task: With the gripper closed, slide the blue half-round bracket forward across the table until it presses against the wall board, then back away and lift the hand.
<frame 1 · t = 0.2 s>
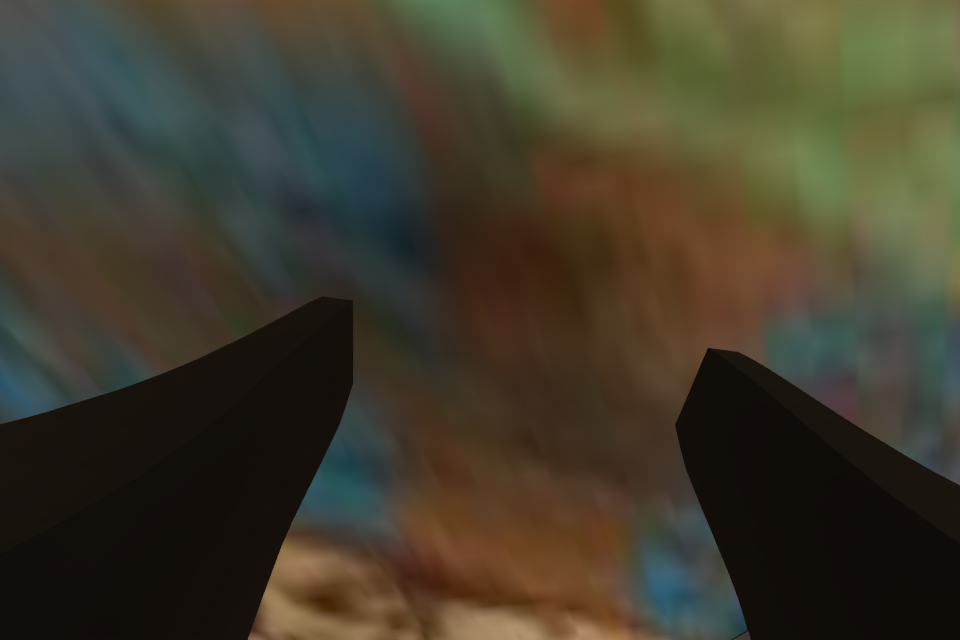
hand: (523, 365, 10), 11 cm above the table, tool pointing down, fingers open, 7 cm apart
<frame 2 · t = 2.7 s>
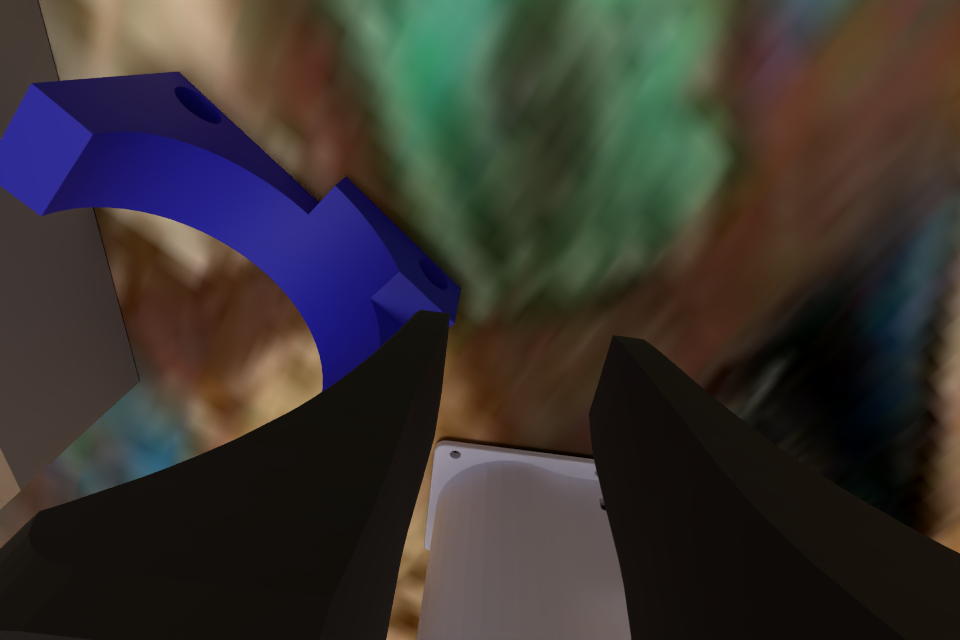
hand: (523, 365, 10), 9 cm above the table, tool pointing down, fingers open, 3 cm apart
blue half-round bracket: (311, 214, 19), on the table
wall board: (45, 156, 18), on the table
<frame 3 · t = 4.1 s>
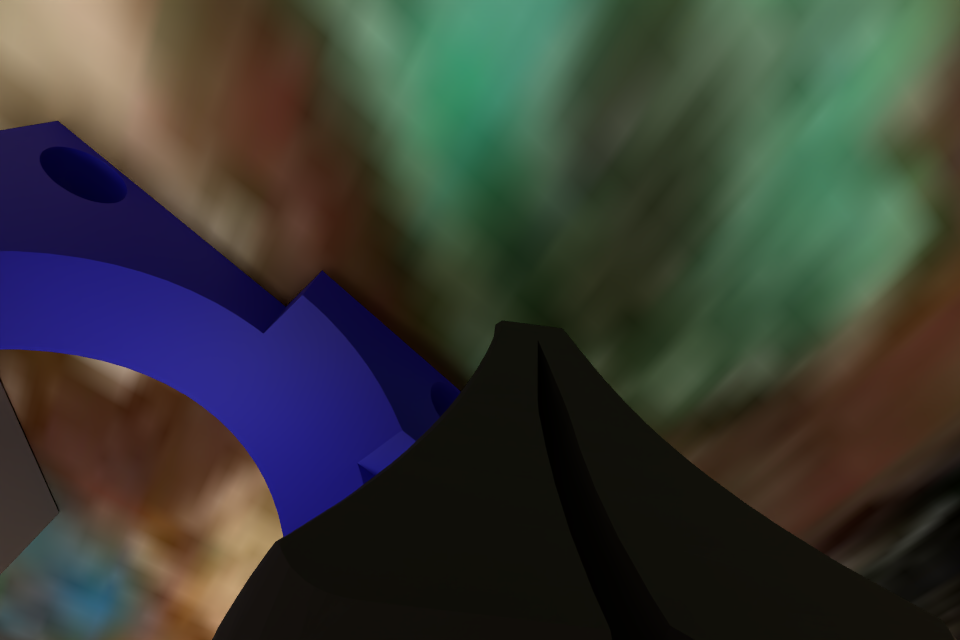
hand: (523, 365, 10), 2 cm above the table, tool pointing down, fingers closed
blue half-round bracket: (274, 317, 13), on the table
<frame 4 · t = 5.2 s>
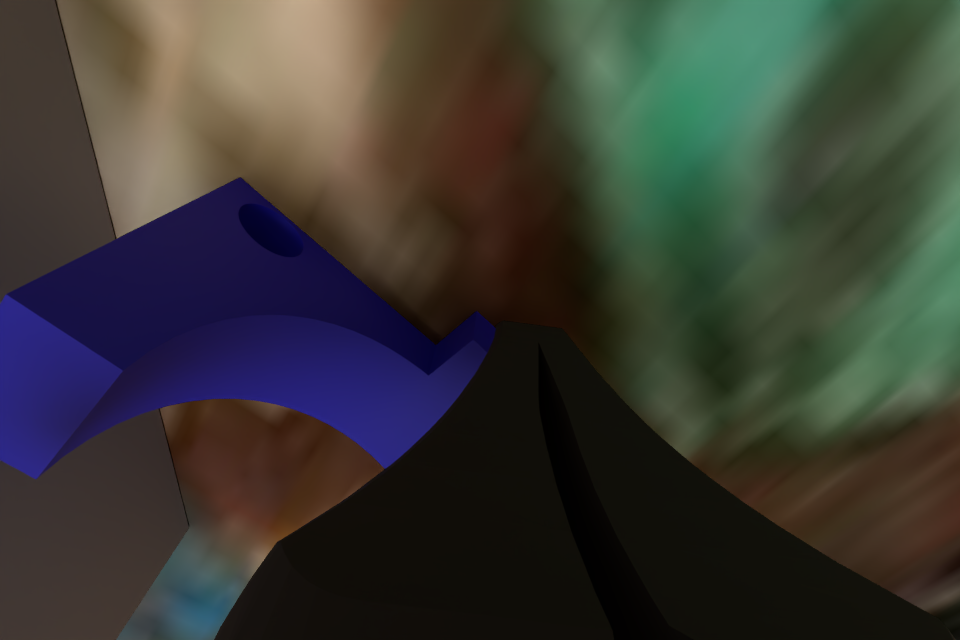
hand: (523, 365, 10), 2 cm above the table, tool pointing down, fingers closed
blue half-round bracket: (418, 354, 13), on the table, touching gripper
wall board: (69, 252, 12), on the table
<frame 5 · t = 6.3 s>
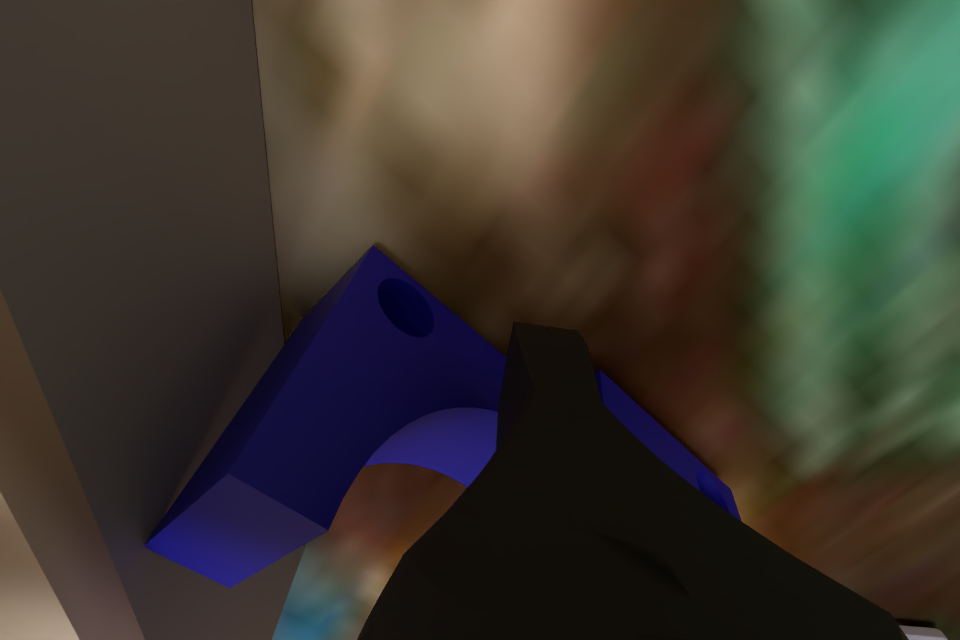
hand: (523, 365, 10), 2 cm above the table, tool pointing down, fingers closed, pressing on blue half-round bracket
blue half-round bracket: (532, 404, 13), on the table, touching gripper, wall board
wall board: (226, 281, 12), on the table
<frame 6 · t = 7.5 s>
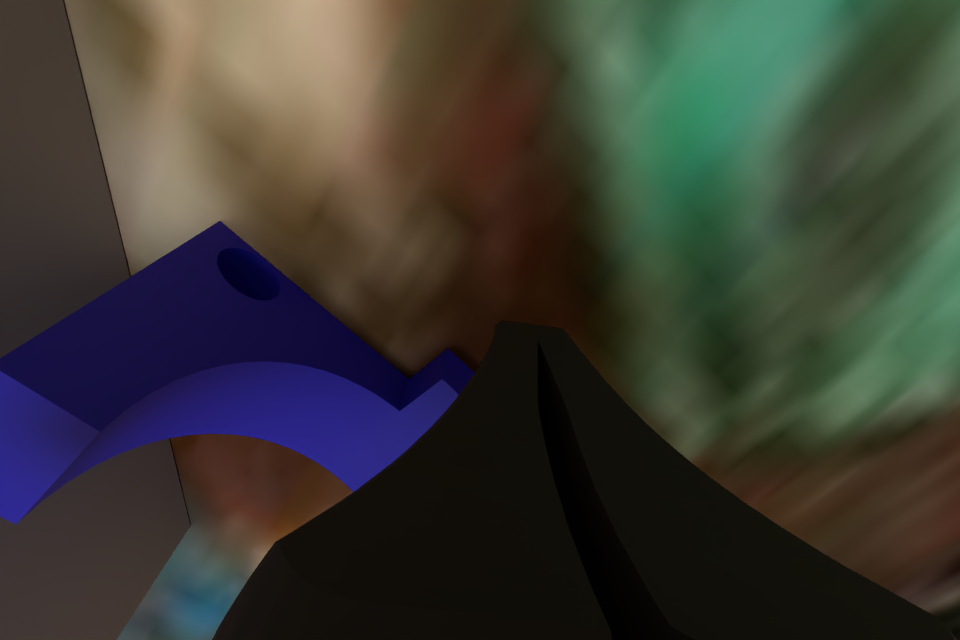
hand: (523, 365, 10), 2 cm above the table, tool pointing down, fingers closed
blue half-round bracket: (393, 385, 14), on the table
wall board: (72, 247, 12), on the table
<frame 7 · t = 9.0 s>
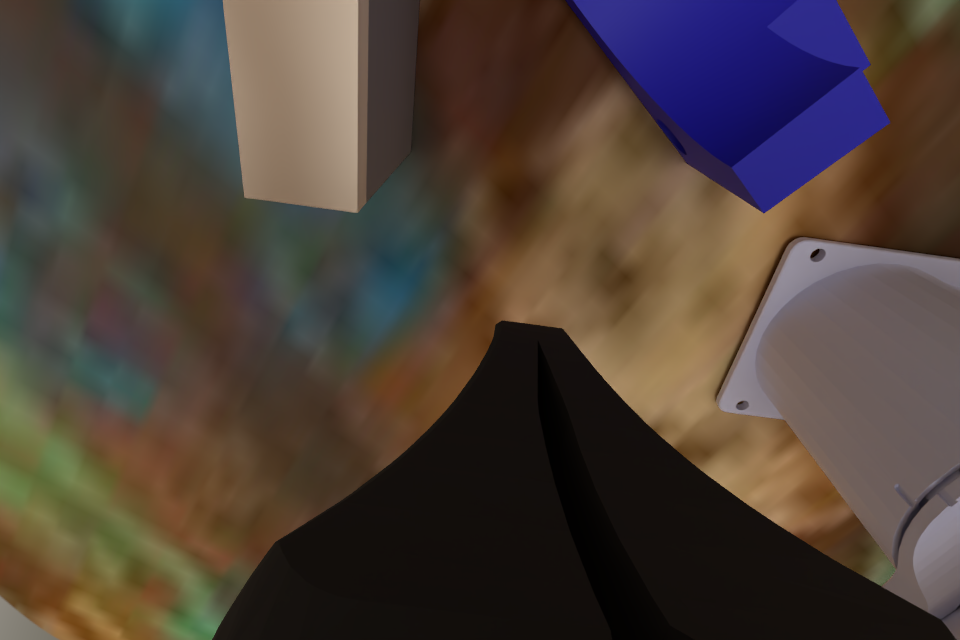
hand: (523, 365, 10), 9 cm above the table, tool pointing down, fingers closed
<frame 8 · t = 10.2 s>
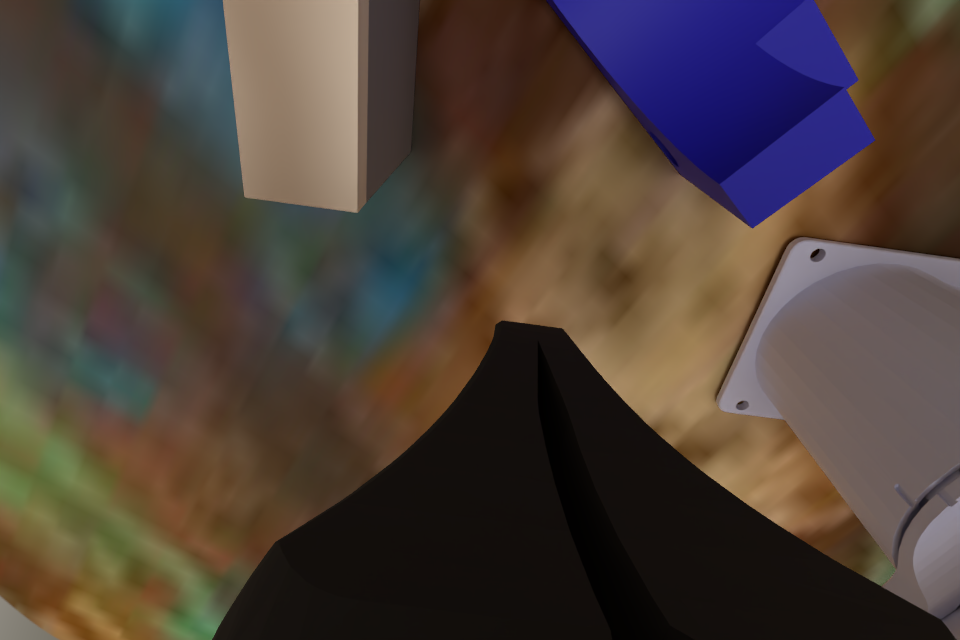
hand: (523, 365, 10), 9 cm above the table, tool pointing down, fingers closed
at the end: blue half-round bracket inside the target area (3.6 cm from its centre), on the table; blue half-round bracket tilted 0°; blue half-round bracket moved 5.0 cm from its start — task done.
